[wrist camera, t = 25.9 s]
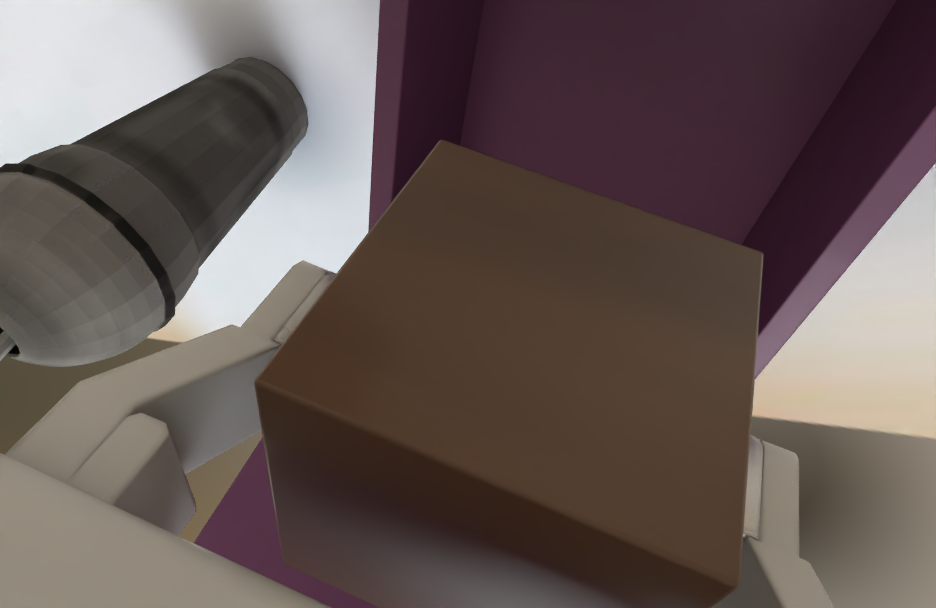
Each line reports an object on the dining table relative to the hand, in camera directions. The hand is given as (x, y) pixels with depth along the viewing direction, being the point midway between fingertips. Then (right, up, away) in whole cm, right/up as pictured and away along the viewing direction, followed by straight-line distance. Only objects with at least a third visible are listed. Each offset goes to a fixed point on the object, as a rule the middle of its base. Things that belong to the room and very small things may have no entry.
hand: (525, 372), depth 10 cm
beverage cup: (-10, +11, +20) cm, 25 cm away
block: (+1, +1, +1) cm, 2 cm away
